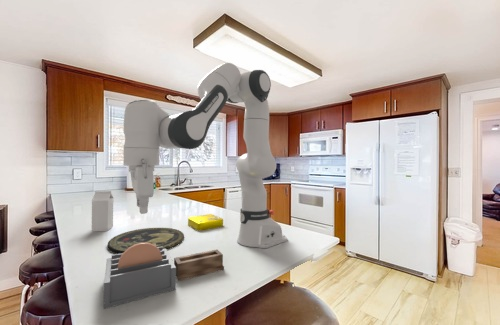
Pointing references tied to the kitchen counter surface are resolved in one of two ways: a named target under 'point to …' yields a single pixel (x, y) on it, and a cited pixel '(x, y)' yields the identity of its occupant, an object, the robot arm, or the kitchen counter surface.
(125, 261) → the terracotta plate
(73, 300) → the kitchen counter surface
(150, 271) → the charcoal dish rack
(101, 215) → the milk carton
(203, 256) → the walnut plate stand
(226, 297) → the kitchen counter surface
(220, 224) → the element tile
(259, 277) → the kitchen counter surface
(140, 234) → the decorative plate
